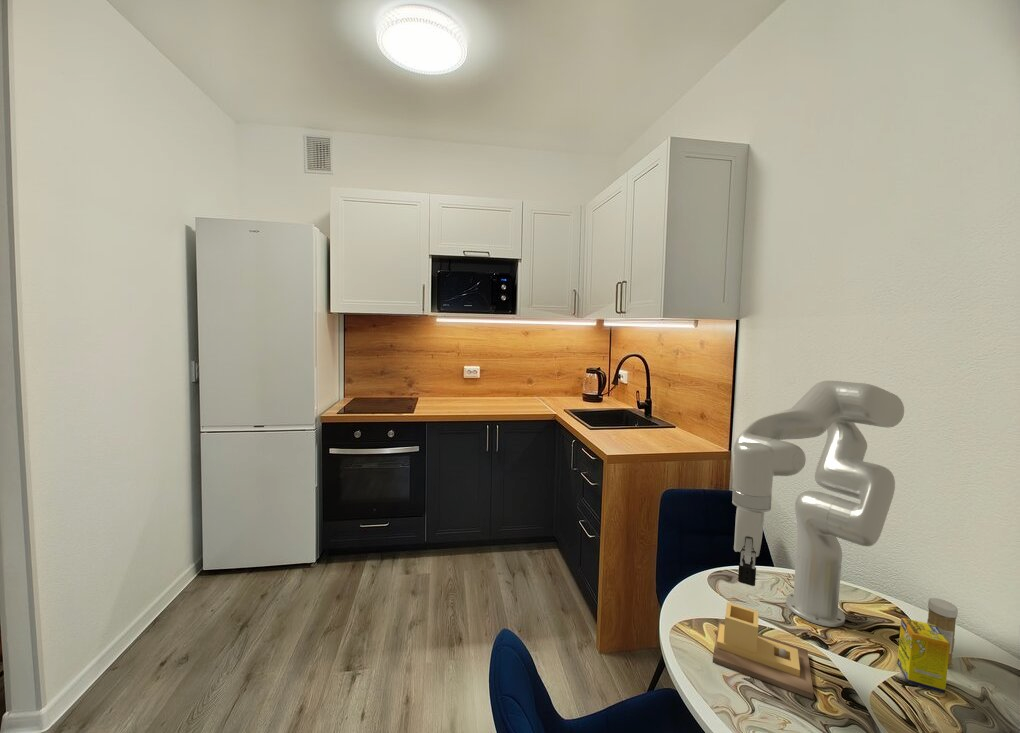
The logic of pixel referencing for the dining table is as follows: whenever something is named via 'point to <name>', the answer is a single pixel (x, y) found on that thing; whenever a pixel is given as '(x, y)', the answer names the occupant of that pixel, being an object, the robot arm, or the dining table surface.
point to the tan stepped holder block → (753, 641)
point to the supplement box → (923, 655)
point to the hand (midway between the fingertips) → (747, 572)
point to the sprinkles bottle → (943, 620)
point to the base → (769, 668)
